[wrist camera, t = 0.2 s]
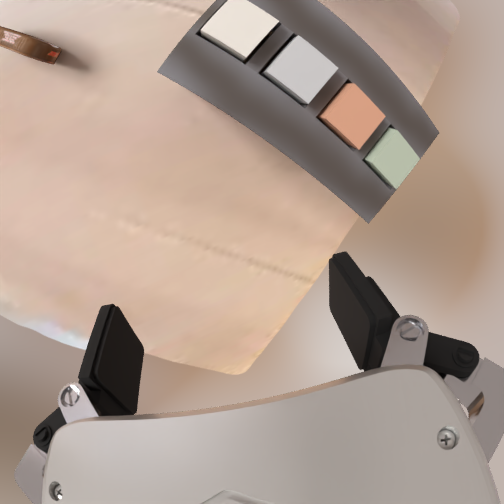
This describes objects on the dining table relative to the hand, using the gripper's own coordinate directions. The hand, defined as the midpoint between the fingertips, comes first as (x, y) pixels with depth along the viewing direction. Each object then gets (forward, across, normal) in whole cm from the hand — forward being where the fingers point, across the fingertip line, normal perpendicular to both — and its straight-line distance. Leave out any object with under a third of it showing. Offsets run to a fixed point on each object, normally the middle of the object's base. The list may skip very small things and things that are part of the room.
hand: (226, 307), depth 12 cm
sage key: (+13, -16, -1) cm, 21 cm away
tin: (+31, +23, -27) cm, 47 cm away
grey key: (+13, -8, -9) cm, 18 cm away
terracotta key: (+13, -12, -5) cm, 19 cm away
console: (+31, -10, -7) cm, 33 cm away
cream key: (+13, -4, -13) cm, 19 cm away
